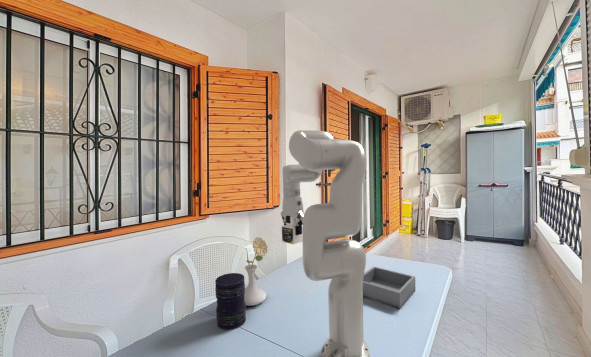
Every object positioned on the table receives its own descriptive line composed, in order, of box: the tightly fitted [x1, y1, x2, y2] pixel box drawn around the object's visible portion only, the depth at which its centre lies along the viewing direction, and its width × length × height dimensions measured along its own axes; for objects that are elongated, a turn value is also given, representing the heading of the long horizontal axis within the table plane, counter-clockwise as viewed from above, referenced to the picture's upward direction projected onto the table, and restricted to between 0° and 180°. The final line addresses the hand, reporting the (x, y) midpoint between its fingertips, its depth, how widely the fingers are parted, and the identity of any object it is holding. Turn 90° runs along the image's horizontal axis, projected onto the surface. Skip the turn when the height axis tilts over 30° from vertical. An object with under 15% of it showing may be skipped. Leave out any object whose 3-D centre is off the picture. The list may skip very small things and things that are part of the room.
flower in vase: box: [244, 236, 269, 307], centre depth 102 cm, size 13×11×25 cm
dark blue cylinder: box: [214, 272, 247, 331], centre depth 89 cm, size 10×10×15 cm
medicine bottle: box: [281, 216, 303, 245], centre depth 114 cm, size 7×7×12 cm
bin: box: [363, 266, 416, 310], centre depth 106 cm, size 18×18×6 cm
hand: (292, 232), depth 114 cm, fingers closed on medicine bottle, 7 cm apart
